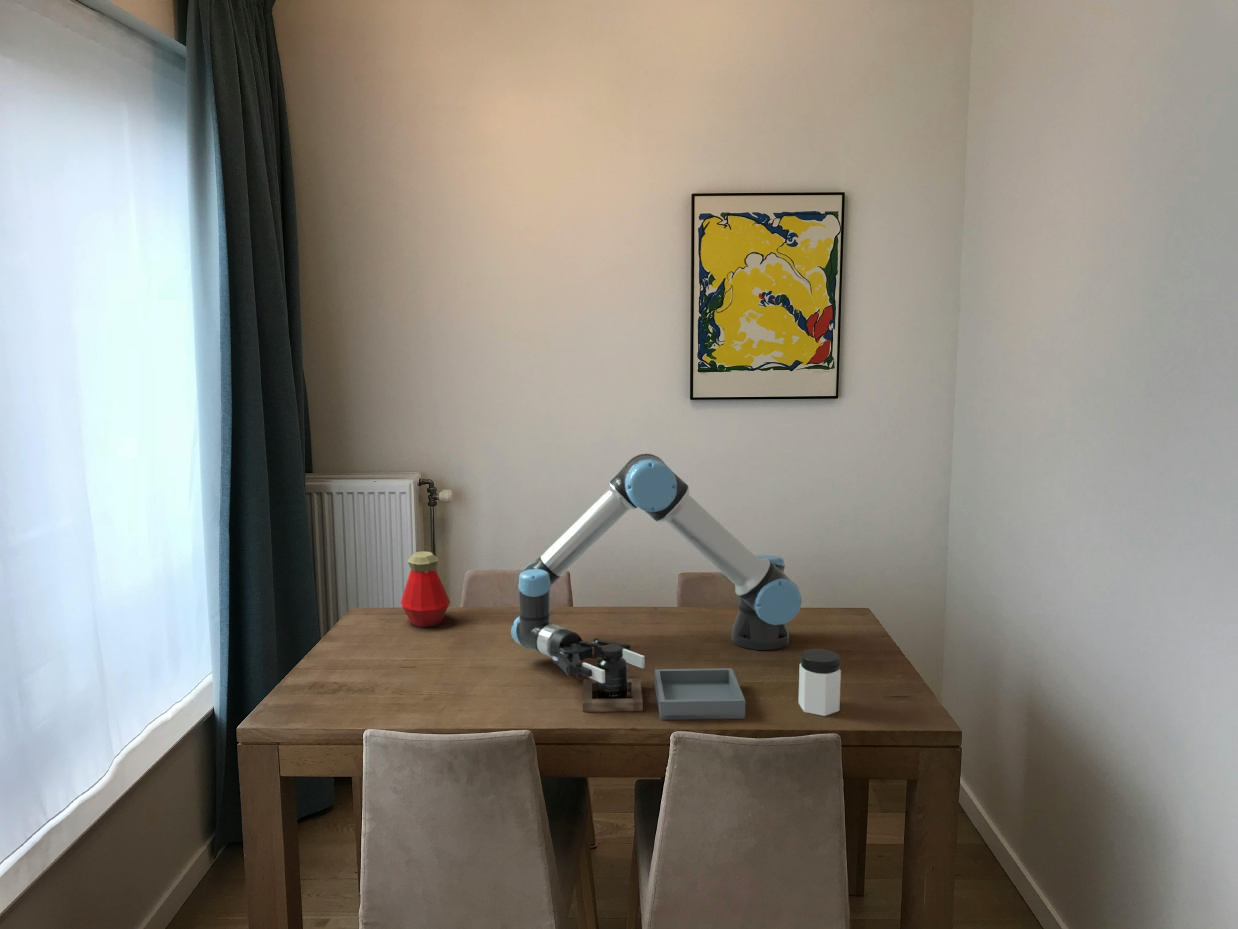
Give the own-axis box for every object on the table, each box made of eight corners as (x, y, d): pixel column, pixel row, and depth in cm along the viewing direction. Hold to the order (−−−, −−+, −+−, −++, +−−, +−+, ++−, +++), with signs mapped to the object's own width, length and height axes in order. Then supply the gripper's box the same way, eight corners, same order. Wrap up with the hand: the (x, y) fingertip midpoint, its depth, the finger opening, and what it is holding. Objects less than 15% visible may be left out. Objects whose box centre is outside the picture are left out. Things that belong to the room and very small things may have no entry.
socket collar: (639, 686, 200) (639, 678, 200) (642, 711, 187) (642, 702, 187) (583, 687, 200) (583, 679, 199) (582, 711, 187) (582, 703, 187)
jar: (818, 719, 183) (819, 665, 181) (790, 706, 189) (792, 653, 188) (847, 709, 188) (849, 656, 186) (819, 696, 194) (821, 645, 193)
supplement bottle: (596, 693, 197) (595, 642, 195) (626, 692, 197) (625, 641, 195) (597, 706, 190) (597, 653, 188) (628, 704, 190) (628, 652, 189)
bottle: (459, 625, 243) (457, 556, 240) (413, 634, 235) (410, 563, 232) (437, 611, 256) (435, 545, 253) (393, 619, 248) (390, 551, 245)
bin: (731, 684, 201) (732, 668, 200) (745, 718, 183) (745, 700, 183) (654, 685, 201) (654, 669, 200) (660, 719, 183) (660, 702, 182)
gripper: (597, 647, 214) (661, 671, 198) (520, 672, 198) (583, 701, 182) (597, 617, 213) (661, 640, 197) (520, 641, 197) (583, 667, 181)
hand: (624, 669), depth 189 cm, fingers open, 11 cm apart
